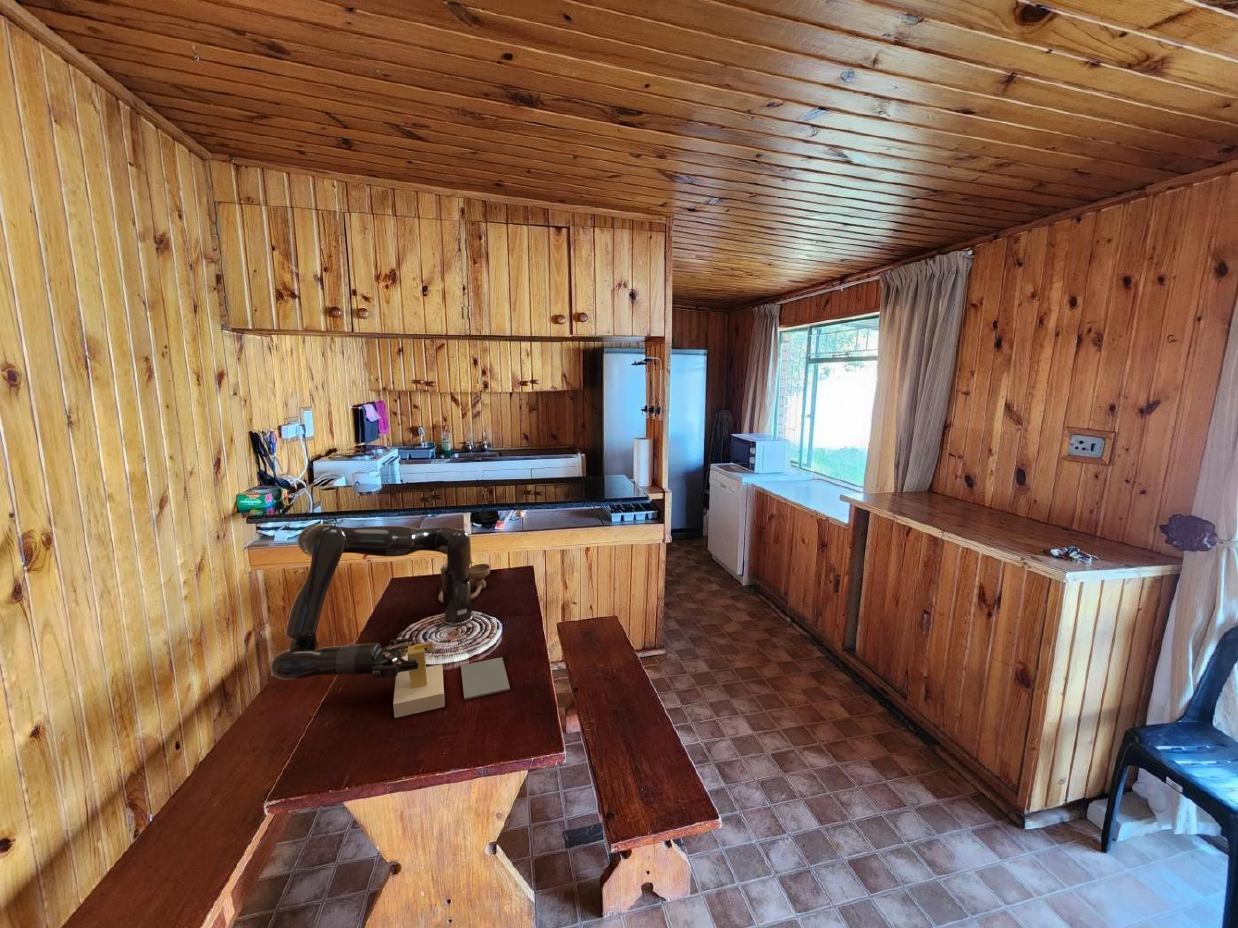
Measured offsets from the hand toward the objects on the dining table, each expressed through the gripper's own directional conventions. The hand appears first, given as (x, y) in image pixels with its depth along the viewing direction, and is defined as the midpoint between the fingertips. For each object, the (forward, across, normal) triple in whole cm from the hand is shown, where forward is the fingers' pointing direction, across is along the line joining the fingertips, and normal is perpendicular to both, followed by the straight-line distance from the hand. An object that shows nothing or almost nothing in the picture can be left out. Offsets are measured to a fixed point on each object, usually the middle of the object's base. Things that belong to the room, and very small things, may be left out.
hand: (422, 655), depth 134 cm
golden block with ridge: (-1, 0, +8) cm, 8 cm away
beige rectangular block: (-2, 0, +12) cm, 12 cm away
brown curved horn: (-2, +64, +12) cm, 65 cm away
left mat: (+14, +6, +12) cm, 20 cm away
